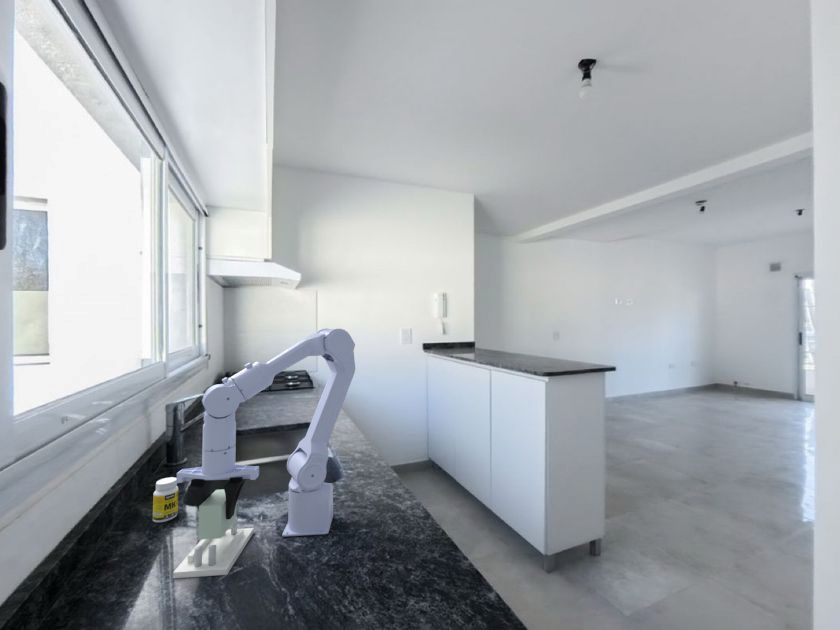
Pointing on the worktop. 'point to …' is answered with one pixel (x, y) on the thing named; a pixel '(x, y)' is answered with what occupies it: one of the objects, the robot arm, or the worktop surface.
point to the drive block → (214, 516)
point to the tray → (215, 554)
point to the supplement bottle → (165, 500)
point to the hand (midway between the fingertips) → (217, 517)
